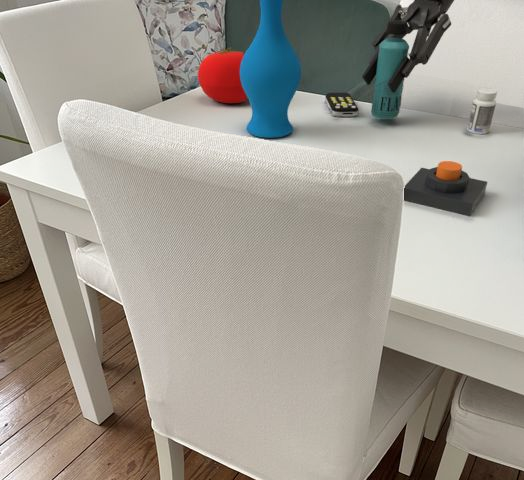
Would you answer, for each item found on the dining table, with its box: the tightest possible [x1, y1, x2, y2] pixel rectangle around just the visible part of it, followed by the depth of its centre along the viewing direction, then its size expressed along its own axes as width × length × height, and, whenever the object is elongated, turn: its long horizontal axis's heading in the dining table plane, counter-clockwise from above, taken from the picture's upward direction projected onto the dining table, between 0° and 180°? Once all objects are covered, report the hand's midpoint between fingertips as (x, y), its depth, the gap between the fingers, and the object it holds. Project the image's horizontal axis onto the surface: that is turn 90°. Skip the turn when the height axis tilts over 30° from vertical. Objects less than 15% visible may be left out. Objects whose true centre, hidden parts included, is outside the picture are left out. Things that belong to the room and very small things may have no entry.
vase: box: [240, 0, 302, 139], centre depth 115 cm, size 12×13×28 cm
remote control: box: [324, 92, 359, 118], centre depth 135 cm, size 6×13×2 cm, turn 4°
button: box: [436, 160, 463, 181], centre depth 97 cm, size 4×4×2 cm
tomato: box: [197, 46, 248, 104], centre depth 136 cm, size 12×14×11 cm
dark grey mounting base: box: [403, 166, 488, 217], centre depth 99 cm, size 12×10×4 cm
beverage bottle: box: [370, 20, 410, 120], centre depth 123 cm, size 6×7×20 cm
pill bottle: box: [466, 87, 498, 135], centre depth 122 cm, size 5×5×8 cm
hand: (378, 84), depth 122 cm, fingers closed on beverage bottle, 6 cm apart
